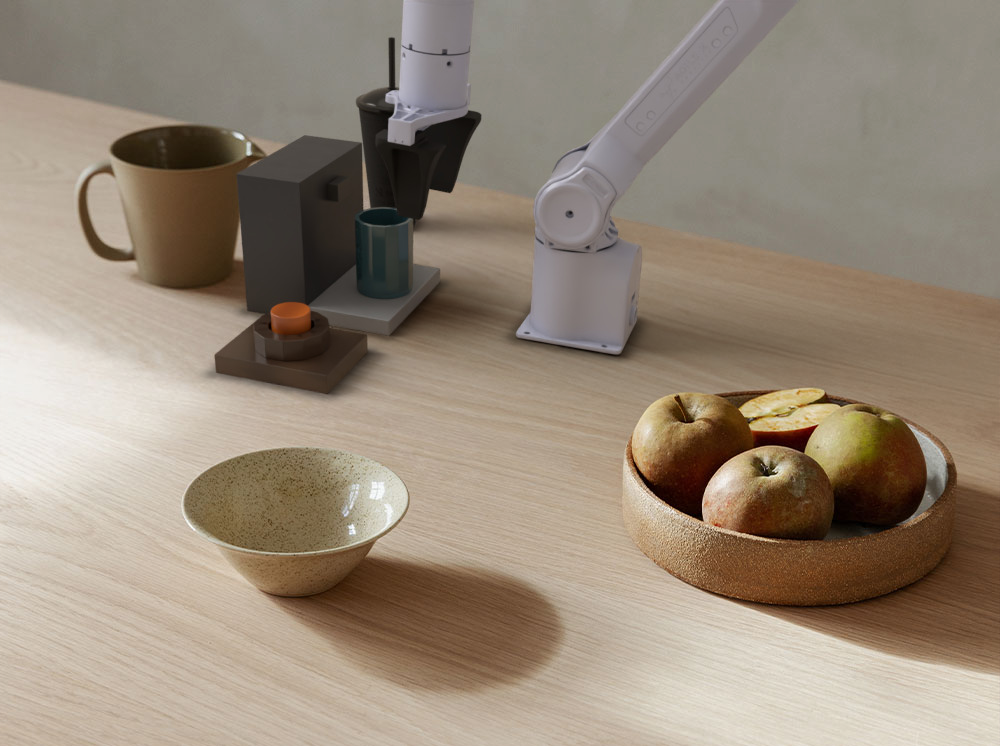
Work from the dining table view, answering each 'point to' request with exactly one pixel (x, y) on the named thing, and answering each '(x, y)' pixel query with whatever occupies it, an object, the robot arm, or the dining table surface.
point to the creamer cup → (383, 253)
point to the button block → (293, 355)
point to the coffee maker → (314, 236)
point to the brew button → (291, 318)
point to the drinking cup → (373, 122)
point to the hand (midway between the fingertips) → (425, 203)
